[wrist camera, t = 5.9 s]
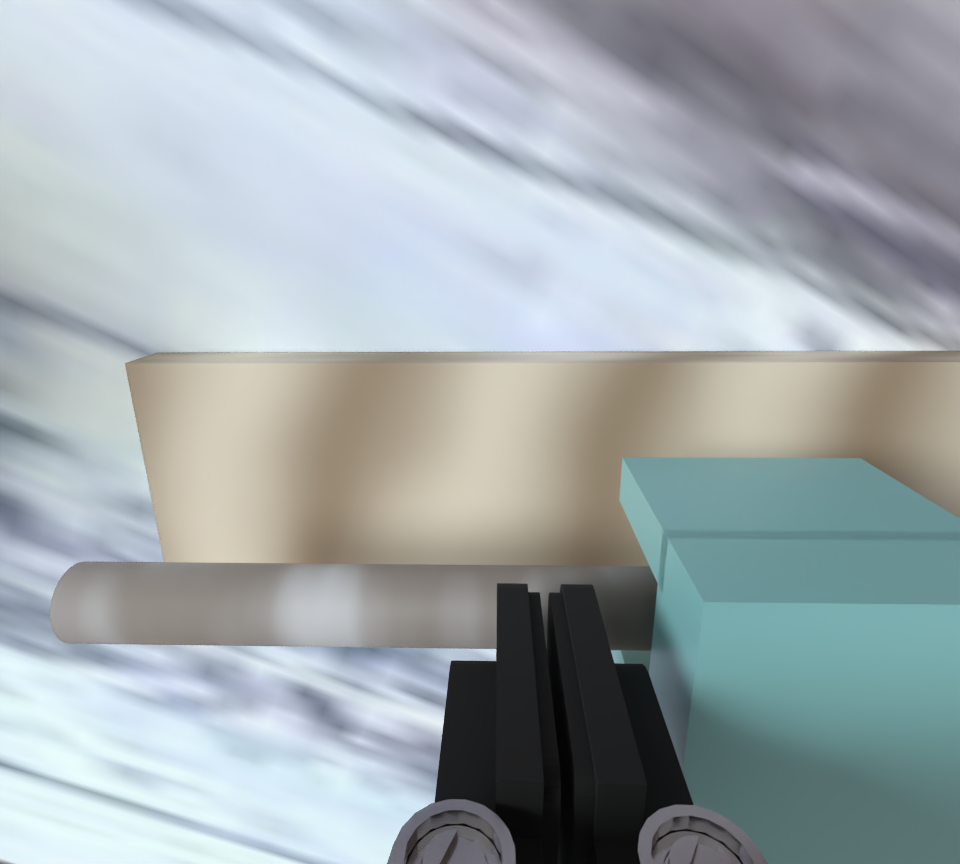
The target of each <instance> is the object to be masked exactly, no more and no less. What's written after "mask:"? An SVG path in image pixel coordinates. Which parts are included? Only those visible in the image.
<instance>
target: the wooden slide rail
mask: <svg viewBox="0 0 960 864" xmlns="http://www.w3.org/2000/svg"><path fill="white" fill-rule="evenodd" d="M125 366H126V371H127V376H128V381H129V386H130V391H131V397H132V402H133V407H134V412H135V417H136V422H137V427H138V432H139V437H140V442H141V447H142V452H143V458H144V463H145V468H146V473H147V478H148V483H149V488H150V493H151V498H152V503H153V508H154V513H155V519H156V524H157V529H158V534H159V539H160V544H161V549H162V554H163V559H164V562H80V563H77V564H75V565H73V566H72V567H71V568H69V569H68V570H67V571H66V572H65V573H64V575H63V576H62V577H61V579H60V581H59V582H58V584H57V586H56V588H55V591H54V593H53V597H52V601H51V607H50V621H51V626H52V629H53V631H54V633H55V635H56V636H57V638H58V639H59V640H61V641H62V642H65V643H74V644H153V645H232V646H311V647H390V648H469V649H497V583H518V584H528V592H540V598H541V606H542V615H543V624H544V632H545V641H546V648H547V621H548V597H549V592H560V586H561V584H592V585H593V587H594V590H595V593H596V597H597V601H598V605H599V608H600V612H601V616H602V619H603V623H604V627H605V630H606V634H607V638H608V642H609V645H610V649H611V650H627V651H651V647H652V637H653V627H654V617H655V606H656V596H657V586H658V583H657V581H656V579H655V577H654V574H653V572H652V570H651V568H650V566H649V564H648V561H647V559H646V557H645V555H644V553H643V551H642V548H641V546H640V544H639V542H638V540H637V538H636V535H635V533H634V531H633V529H632V527H631V525H630V522H629V520H628V518H627V516H626V514H625V512H624V509H623V507H622V505H621V503H620V501H619V497H620V483H621V469H622V457H659V458H861V459H863V460H864V461H866V462H868V463H869V464H871V465H873V466H874V467H876V468H877V469H879V470H881V471H882V472H884V473H886V474H887V475H889V476H891V477H892V478H894V479H896V480H897V481H899V482H900V483H902V484H904V485H905V486H907V487H909V488H910V489H912V490H914V491H915V492H917V493H918V494H920V495H922V496H923V497H925V498H927V499H928V500H930V501H932V502H933V503H935V504H936V505H938V506H940V507H941V508H943V509H945V510H946V511H948V512H950V513H951V514H953V515H954V516H956V517H958V518H959V519H960V351H688V352H217V353H154V354H152V355H149V356H146V357H143V358H140V359H137V360H134V361H131V362H128V363H125Z"/></svg>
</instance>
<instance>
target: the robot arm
mask: <svg viewBox="0 0 960 864" xmlns="http://www.w3.org/2000/svg"><path fill="white" fill-rule="evenodd" d="M387 864H768V863H767V861H766V859H765V858H764V856H763V854H762V853H761V852H760V850H759V849H758V847H757V846H756V845H755V843H754V842H753V841H752V839H751V838H750V837H749V836H748V835H747V834H746V833H745V832H744V831H743V830H741V829H740V828H739V827H738V826H737V825H736V824H735V823H733V822H732V821H731V820H729V819H727V818H725V817H723V816H722V815H720V814H718V813H716V812H714V811H712V810H709V809H705V808H702V807H699V806H695V805H694V804H693V801H692V798H691V795H690V793H689V790H688V787H687V784H686V781H685V778H684V775H683V772H682V769H681V766H680V763H679V760H678V758H677V755H676V752H675V749H674V746H673V743H672V740H671V737H670V734H669V731H668V728H667V725H666V723H665V720H664V717H663V714H662V711H661V708H660V705H659V702H658V699H657V696H656V693H655V690H654V688H653V685H652V682H651V679H650V676H649V673H648V671H647V669H646V667H645V666H644V665H643V664H620V663H614V660H613V656H612V653H611V649H610V645H609V642H608V638H607V634H606V630H605V627H604V623H603V619H602V616H601V612H600V608H599V605H598V601H597V597H596V593H595V590H594V587H593V585H592V584H561V586H560V592H549V597H548V621H547V648H546V641H545V632H544V624H543V615H542V606H541V598H540V592H528V584H518V583H497V654H496V661H451V665H450V672H449V681H448V690H447V699H446V708H445V716H444V725H443V734H442V743H441V752H440V761H439V769H438V778H437V787H436V796H435V803H432V804H430V805H428V806H427V807H425V808H423V809H422V810H420V811H418V812H416V813H415V814H414V815H413V816H412V817H411V818H410V819H409V820H408V821H407V822H406V824H405V825H404V826H403V827H402V828H401V830H400V832H399V834H398V836H397V838H396V840H395V842H394V844H393V847H392V850H391V853H390V857H389V860H388V863H387Z"/></svg>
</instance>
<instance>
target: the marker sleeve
mask: <svg viewBox="0 0 960 864" xmlns="http://www.w3.org/2000/svg"><path fill="white" fill-rule="evenodd" d="M619 501H620V503H621V505H622V507H623V509H624V512H625V514H626V516H627V518H628V520H629V522H630V525H631V527H632V529H633V531H634V533H635V535H636V538H637V540H638V542H639V544H640V546H641V548H642V551H643V553H644V555H645V557H646V559H647V561H648V564H649V566H650V568H651V570H652V572H653V574H654V577H655V579H656V581H657V583H658V586H657V596H656V606H655V617H654V627H653V637H652V647H651V651H627V650H611V653H612V656H613V660H614V663H620V664H643V665H644V666H645V667H646V669H647V671H648V673H649V676H650V679H651V682H652V685H653V688H654V690H655V693H656V696H657V699H658V702H659V705H660V708H661V711H662V714H663V717H664V720H665V723H666V725H667V728H668V731H669V734H670V737H671V740H672V743H673V746H674V749H675V752H676V755H677V758H678V760H679V763H680V766H681V769H682V772H683V775H684V778H685V781H686V784H687V787H688V790H689V793H690V795H691V798H692V801H693V804H694V805H695V806H699V807H702V808H705V809H709V810H712V811H714V812H716V813H718V814H720V815H722V816H723V817H725V818H727V819H729V820H731V821H732V822H733V823H735V824H736V825H737V826H738V827H739V828H740V829H741V830H743V831H744V832H745V833H746V834H747V835H748V836H749V837H750V838H751V839H752V841H753V842H754V843H755V845H756V846H757V847H758V849H759V850H760V852H761V853H762V854H763V856H764V858H765V859H766V861H767V863H768V864H960V519H959V518H958V517H956V516H954V515H953V514H951V513H950V512H948V511H946V510H945V509H943V508H941V507H940V506H938V505H936V504H935V503H933V502H932V501H930V500H928V499H927V498H925V497H923V496H922V495H920V494H918V493H917V492H915V491H914V490H912V489H910V488H909V487H907V486H905V485H904V484H902V483H900V482H899V481H897V480H896V479H894V478H892V477H891V476H889V475H887V474H886V473H884V472H882V471H881V470H879V469H877V468H876V467H874V466H873V465H871V464H869V463H868V462H866V461H864V460H863V459H861V458H659V457H622V469H621V483H620V497H619Z"/></svg>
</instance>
